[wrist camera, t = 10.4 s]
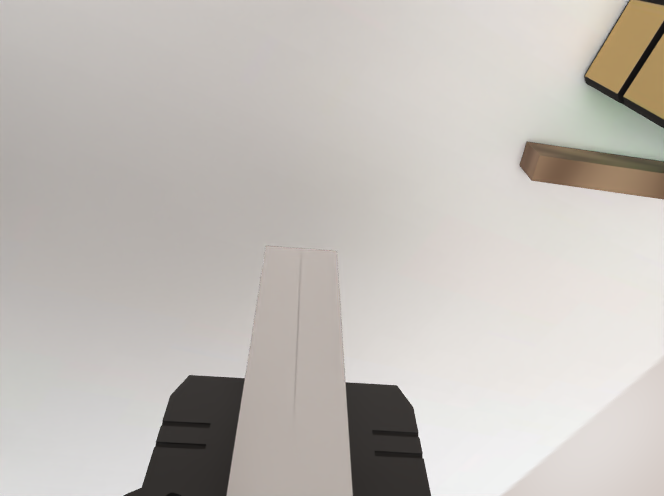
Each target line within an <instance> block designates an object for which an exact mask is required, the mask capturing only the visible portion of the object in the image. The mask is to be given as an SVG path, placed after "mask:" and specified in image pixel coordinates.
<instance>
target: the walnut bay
mask: <svg viewBox="0 0 664 496" xmlns="http://www.w3.org/2000/svg"><path fill="white" fill-rule="evenodd" d="M520 167H521V168H522V169H523V170H524V172H525V173H526V174H527V175H528V177H529V178H530V179H531V180H532V181H539V182H546V183H553V184H560V185H567V186H574V187H581V188H588V189H595V190H602V191H609V192H616V193H623V194H630V195H637V196H644V197H651V198H658V199H664V162H662V161H655V160H648V159H641V158H634V157H628V156H621V155H614V154H607V153H600V152H594V151H587V150H580V149H573V148H566V147H559V146H553V145H546V144H539V143H532V142H527V143H526V146H525V150H524V153H523V156H522V159H521V163H520Z"/></svg>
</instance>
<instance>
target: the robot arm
mask: <svg viewBox="0 0 664 496" xmlns="http://www.w3.org/2000/svg"><path fill="white" fill-rule="evenodd" d="M124 496H431V493H430V488H429V483H428V478H427V473H426V468H425V463H424V459H422V449H421V444H420V439H419V437H418V429H417V424H416V419H415V414H414V409H413V407H412V405H411V404H410V402H409V401H408V400H407V398H406V397H405V396H404V394H403V393H402V392H401V390H400V389H399V388H398V386H397V385H380V384H363V383H346V382H345V368H344V353H343V337H342V322H341V306H340V291H339V275H338V260H337V251H331V250H317V249H304V248H290V247H276V246H266V248H265V254H264V260H263V267H262V273H261V280H260V286H259V292H258V299H257V305H256V311H255V318H254V324H253V330H252V337H251V343H250V349H249V356H248V362H247V368H246V375H245V378H229V377H212V376H195V375H189V376H188V377H187V378H186V379H185V381H184V382H183V383H182V384H181V385H180V386H179V387H178V388H177V389H176V390H175V391H174V392H173V393H172V394H171V396H170V398H169V402H168V405H167V408H166V411H165V415H164V418H163V423H162V426H161V427H160V431H159V434H158V437H157V440H156V447H154V450H153V453H152V456H151V460H150V463H149V466H148V469H147V473H146V476H145V479H144V482H143V485H142V488H140V489H138V490H135V491H133V492H130V493H128V494H126V495H124Z"/></svg>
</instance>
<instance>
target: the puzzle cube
mask: <svg viewBox="0 0 664 496" xmlns="http://www.w3.org/2000/svg"><path fill="white" fill-rule="evenodd" d="M585 79H586V83H587V84H588V85H590V86H592V87H594V88H595V89H597V90H599V91H600V92H602V93H604V94H606V95H607V96H609V97H611V98H613V99H614V100H616V101H618V102H620V103H622V104H624V105H625V106H627V107H629V108H630V109H632V110H634V111H636V112H637V113H639V114H641V115H642V116H644V117H646V118H647V119H649V120H651V121H653V122H654V123H656V124H658V125H659V126H661V127H663V128H664V0H630V1H629V3H628V5H627V6H626V8H625V10H624V11H623V13H622V15H621V16H620V18H619V20H618V21H617V23H616V25H615V26H614V28H613V30H612V31H611V33H610V35H609V36H608V38H607V40H606V41H605V43H604V45H603V46H602V48H601V50H600V51H599V53H598V55H597V56H596V58H595V60H594V61H593V63H592V65H591V66H590V68H589V70H588V71H587V73H586V75H585Z"/></svg>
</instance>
